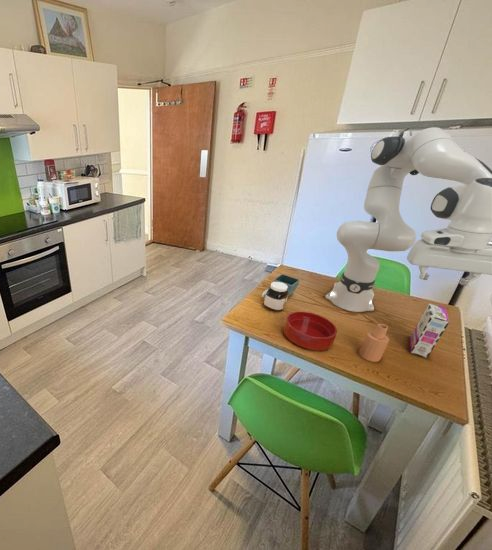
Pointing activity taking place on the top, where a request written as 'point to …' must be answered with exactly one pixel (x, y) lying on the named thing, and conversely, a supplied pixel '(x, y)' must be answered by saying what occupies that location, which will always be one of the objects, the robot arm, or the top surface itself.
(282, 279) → the flower pot
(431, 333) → the candy bar box
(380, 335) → the bottle
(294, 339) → the bowl
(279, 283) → the spread jar
